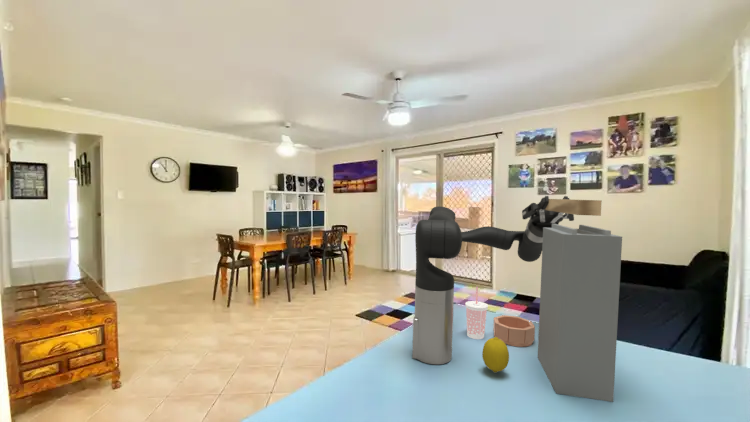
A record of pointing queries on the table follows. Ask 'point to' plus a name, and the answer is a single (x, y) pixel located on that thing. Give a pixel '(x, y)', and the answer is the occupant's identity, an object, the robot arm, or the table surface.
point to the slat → (575, 206)
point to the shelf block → (579, 310)
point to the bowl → (514, 330)
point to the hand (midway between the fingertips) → (557, 199)
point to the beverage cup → (476, 318)
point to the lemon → (495, 354)
